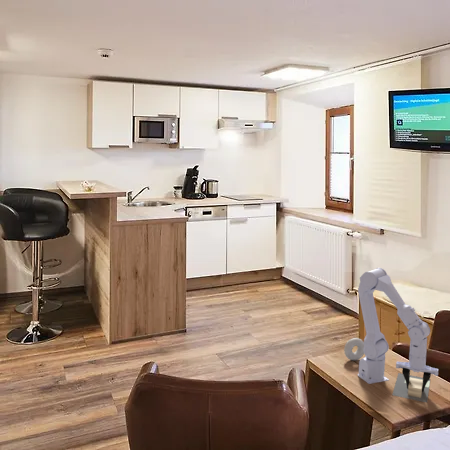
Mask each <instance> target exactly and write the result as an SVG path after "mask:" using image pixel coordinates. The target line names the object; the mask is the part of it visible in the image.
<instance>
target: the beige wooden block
mask: <svg viewBox="0 0 450 450" xmlns="http://www.w3.org/2000/svg"><path fill="white" fill-rule="evenodd" d="M422 385H423V380H421V379H416V378H410V382H409V386H408V395H409V396H414V397H419V398H421V394H422Z"/></svg>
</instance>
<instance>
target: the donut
mask: <svg viewBox="0 0 450 450" xmlns="http://www.w3.org/2000/svg"><path fill="white" fill-rule="evenodd" d="M355 347H357V348H356V350H355V352H353V349H354V348H355ZM363 349H364V340H363V339H361V338H358V337H353V338H350V339H349V340H347V342H346V343H345V345H344V349H343V352H344V355H345V357H346V358H347V360H350V361H358V360H360V359H362V358H363V356H364V355H365V354H364V351H363Z"/></svg>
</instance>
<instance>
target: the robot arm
mask: <svg viewBox="0 0 450 450" xmlns="http://www.w3.org/2000/svg"><path fill="white" fill-rule="evenodd" d="M359 281H360V282H359V285H358V288H357V289H358V290H357V292H358V298H359V303H360V307H361V313H362V314H361V315H362V318H363V323H364V328H365V333H366V335H365V336H364V339H363V342H364V349H363V351H364V355H365V357H361V358H360V359H359V361H358V373H357V376H358V377H359V378H360V379H362V380H363V381H364V382H366V383H367V384H369V385H370V384H376V383H381V382H387V381H389V380H390V379H389V378H387V377H386V376H385V371H386V370H385V367H386V366H385V365H386V353H388V351H389V348H390V346H389V343H388V341H387V339H386V337H385V334H384V333H382V332H381V327H380V323H379V318H378V312H377V307H376V303H375V297H374V292H375V291H379V292H382V293H384V294H385V296H386V297H387V298H388V299H389V300H390V301H391V303H392V304H393V305H394V307H396V309H397V312H396V313H397V316H398V317H399V319H400V320H401V321H402V323H403V324H404V326H405V327H406V328H407V330H408V331H407V335H408V337H409V338H410V341H409V355H408V359H409V360H408V361H407V362H406V361H396V363H395V369H402V372H401V374H403V375H404V378H405V380H406V384H407V389H408V386H409V382H410V375H411V371H412V372H414V373H423V374H422V378H423V385H422V392H424V388H425V386H426V384H427V382H428V380H429V379H430V380H431V376H432V375H434V376H435V377H438V376H439V368H435V367H431V366H429V365H426V362H427V347H428V336H429V335H430V333H431V328H430V326H429V324H428V323H427V322H425V321H423V319H421V318H420V316H418V314H417V313H416V309H415V307H412V306H411V305H409V304H406V303H405V301H404V300H403V298H402V296H401V295H400V293H399V291H398V290H397V289H396V287H395V286H394V284H393V282H392V279H391V276H390V275H389V274H388V273H387V271H386V270H385V269H384V268H381V267H376V268H374V269H372V270H369V271H365V272H364V273H363V274H362V275H361V276H360V277H359Z"/></svg>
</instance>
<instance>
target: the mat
mask: <svg viewBox="0 0 450 450" xmlns="http://www.w3.org/2000/svg"><path fill="white" fill-rule="evenodd" d="M410 378H416V379H421V380H423V376H422V377H421V376H415V375H412V374H410ZM430 384H431V378H430V379H429V380H428V382H427V384H426V386H425V388H424V392H422V394H421V398H419V397H414V396H409V395H408V389H407V384H406V380H405V378H404V375H403V373H402V372H398V374H397V377H396V380H395V384H394V387H393V391H392V394H391V395H392V396H394V397H400V398H403V399H408V400H414V401H417V402H422V403H425V404H427V403H428V400H429V392H430Z"/></svg>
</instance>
